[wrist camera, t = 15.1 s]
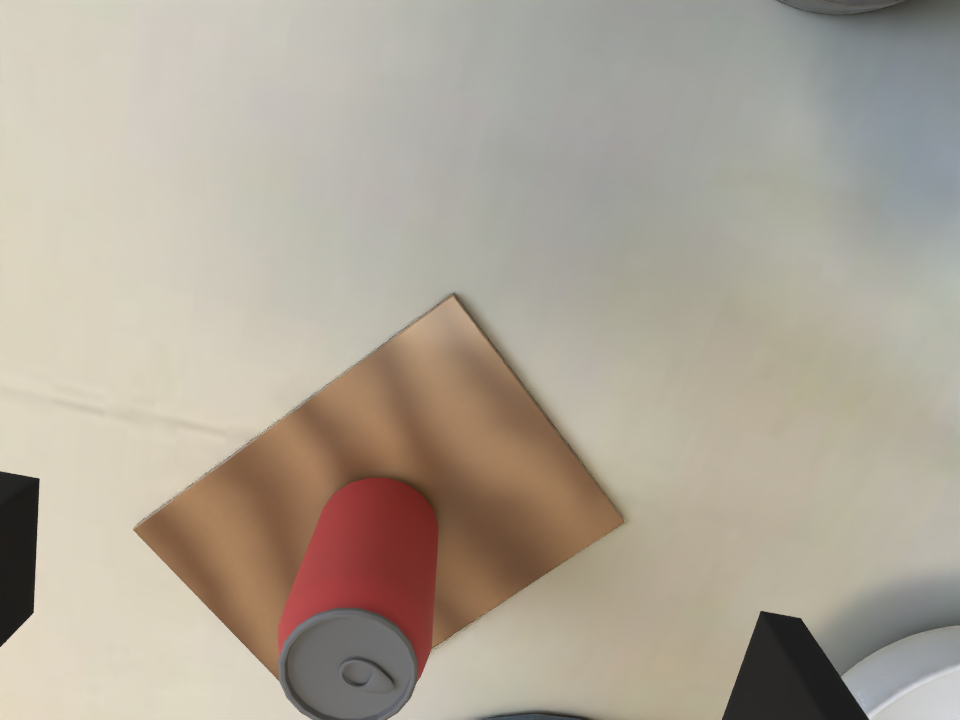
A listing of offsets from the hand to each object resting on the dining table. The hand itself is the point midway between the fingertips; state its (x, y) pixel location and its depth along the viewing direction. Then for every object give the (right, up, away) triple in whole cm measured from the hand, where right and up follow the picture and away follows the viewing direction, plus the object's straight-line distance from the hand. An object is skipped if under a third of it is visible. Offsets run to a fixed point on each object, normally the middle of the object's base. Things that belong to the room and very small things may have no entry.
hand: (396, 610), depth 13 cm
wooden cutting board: (-4, -5, +28) cm, 29 cm away
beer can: (-4, -5, +28) cm, 28 cm away
